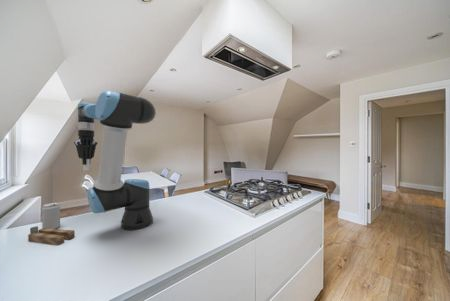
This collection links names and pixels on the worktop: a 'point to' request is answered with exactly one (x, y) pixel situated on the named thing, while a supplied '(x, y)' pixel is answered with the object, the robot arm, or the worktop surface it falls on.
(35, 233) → the bar
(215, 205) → the worktop surface
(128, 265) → the worktop surface
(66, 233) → the bar
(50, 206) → the beverage can
